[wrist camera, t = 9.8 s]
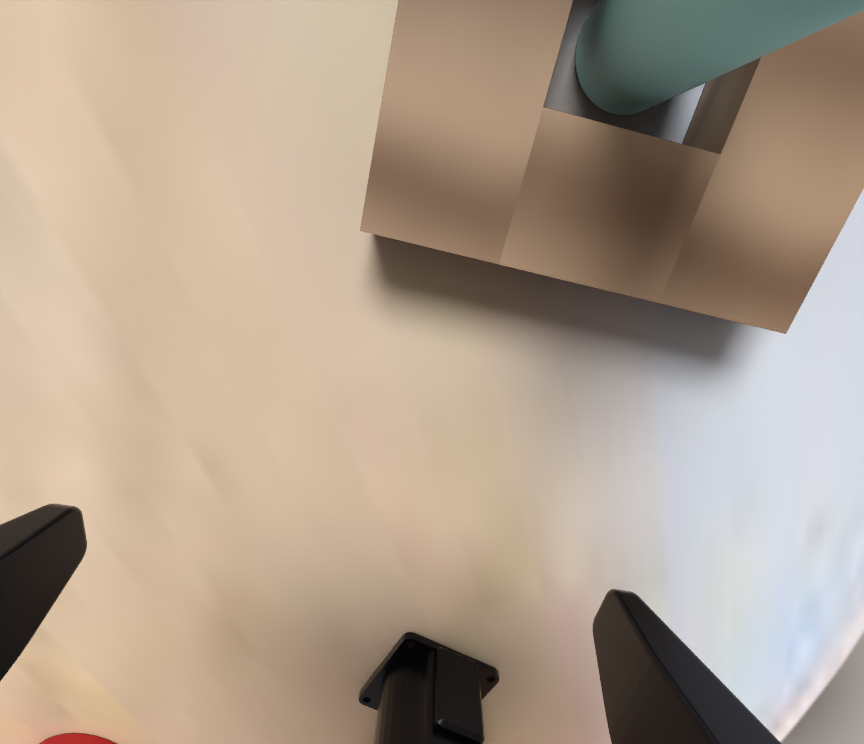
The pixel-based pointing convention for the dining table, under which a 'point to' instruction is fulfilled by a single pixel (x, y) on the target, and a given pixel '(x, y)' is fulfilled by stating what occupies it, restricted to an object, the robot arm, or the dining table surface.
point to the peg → (686, 43)
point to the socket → (618, 164)
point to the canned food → (76, 739)
